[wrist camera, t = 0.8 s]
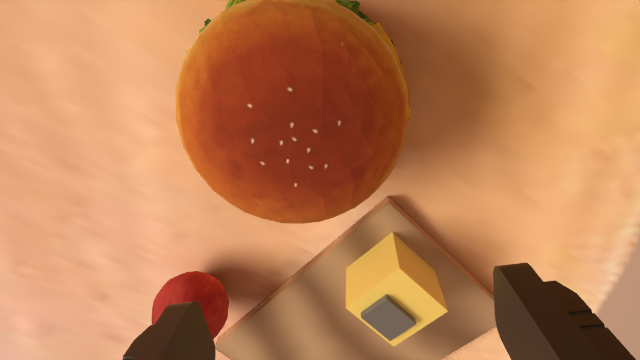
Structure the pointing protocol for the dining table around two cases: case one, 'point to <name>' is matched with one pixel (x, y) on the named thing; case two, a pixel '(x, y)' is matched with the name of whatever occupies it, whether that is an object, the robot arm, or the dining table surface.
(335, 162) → the burger
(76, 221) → the dining table surface
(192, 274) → the onion
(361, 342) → the board
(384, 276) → the yellow cube
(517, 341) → the robot arm
